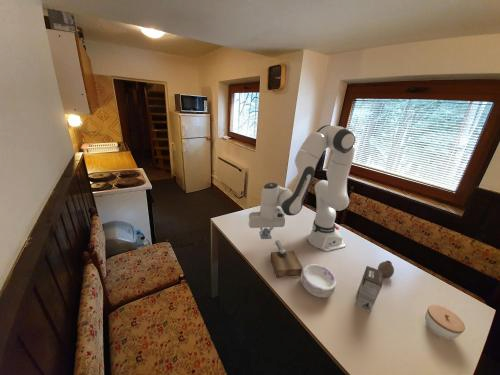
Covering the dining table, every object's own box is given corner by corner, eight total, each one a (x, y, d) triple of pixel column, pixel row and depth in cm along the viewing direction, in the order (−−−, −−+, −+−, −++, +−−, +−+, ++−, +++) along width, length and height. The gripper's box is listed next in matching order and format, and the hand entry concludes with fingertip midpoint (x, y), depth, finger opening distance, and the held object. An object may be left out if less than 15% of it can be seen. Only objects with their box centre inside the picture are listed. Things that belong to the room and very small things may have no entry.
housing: (292, 257, 114) (293, 250, 112) (300, 275, 102) (302, 268, 100) (270, 259, 112) (271, 251, 110) (276, 277, 100) (277, 270, 98)
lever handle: (285, 255, 108) (286, 250, 106) (280, 256, 107) (281, 251, 106) (279, 243, 116) (279, 239, 115) (274, 244, 115) (274, 240, 114)
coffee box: (357, 290, 96) (366, 264, 90) (372, 297, 93) (383, 271, 87) (354, 305, 89) (364, 278, 83) (371, 313, 86) (383, 285, 80)
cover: (269, 232, 119) (270, 226, 117) (271, 238, 113) (272, 232, 112) (259, 232, 118) (259, 226, 116) (261, 239, 113) (261, 232, 111)
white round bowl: (338, 288, 97) (342, 276, 93) (324, 309, 86) (327, 296, 83) (310, 270, 106) (312, 258, 103) (294, 286, 96) (296, 274, 93)
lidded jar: (458, 333, 80) (470, 318, 76) (451, 351, 74) (463, 335, 70) (425, 312, 88) (434, 297, 84) (416, 326, 82) (426, 310, 78)
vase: (378, 267, 110) (383, 255, 107) (392, 275, 106) (398, 262, 103) (374, 274, 106) (379, 261, 102) (389, 282, 101) (395, 269, 98)
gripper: (250, 215, 105) (248, 236, 110) (287, 214, 108) (284, 235, 114) (248, 209, 111) (246, 230, 116) (284, 208, 114) (281, 228, 119)
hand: (265, 232), depth 115 cm, fingers closed on cover, 2 cm apart
